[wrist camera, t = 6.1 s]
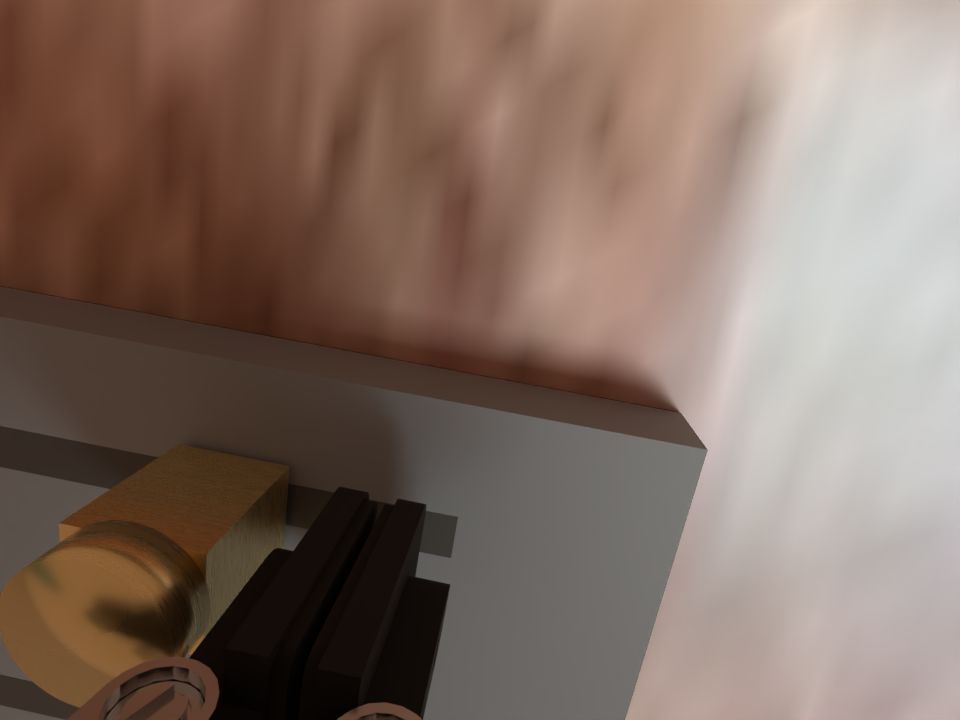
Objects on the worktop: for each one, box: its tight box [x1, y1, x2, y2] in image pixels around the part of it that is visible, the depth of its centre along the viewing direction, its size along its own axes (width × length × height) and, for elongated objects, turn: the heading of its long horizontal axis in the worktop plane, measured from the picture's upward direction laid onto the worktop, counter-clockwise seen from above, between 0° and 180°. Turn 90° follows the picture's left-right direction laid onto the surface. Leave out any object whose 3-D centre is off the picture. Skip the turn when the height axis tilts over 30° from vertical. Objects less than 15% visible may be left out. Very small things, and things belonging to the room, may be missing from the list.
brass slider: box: [0, 444, 290, 707], centre depth 10 cm, size 3×3×4 cm
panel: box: [0, 286, 707, 720], centre depth 13 cm, size 24×13×3 cm, turn 81°
